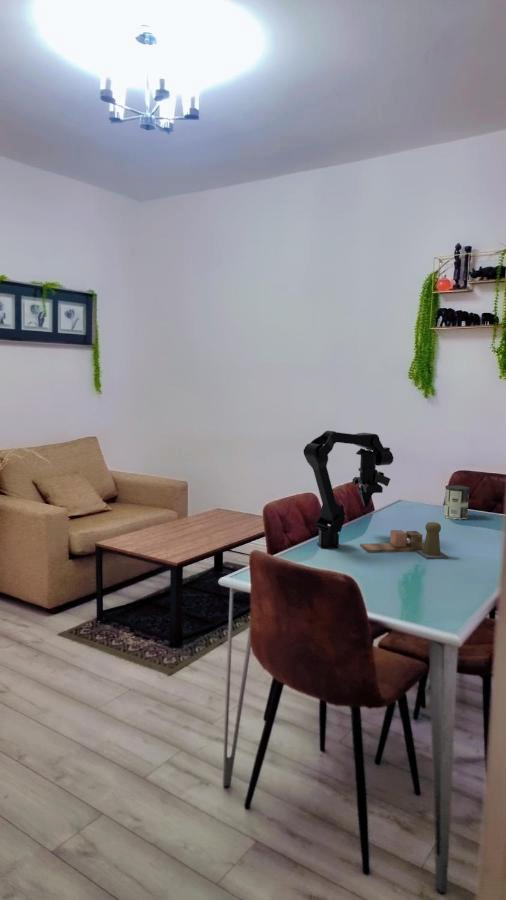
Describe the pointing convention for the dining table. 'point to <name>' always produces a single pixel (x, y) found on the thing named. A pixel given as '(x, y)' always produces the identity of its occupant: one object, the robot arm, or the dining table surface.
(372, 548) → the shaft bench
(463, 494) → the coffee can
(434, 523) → the cork
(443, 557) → the seat pad
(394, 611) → the dining table surface
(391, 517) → the dining table surface
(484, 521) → the dining table surface
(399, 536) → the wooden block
